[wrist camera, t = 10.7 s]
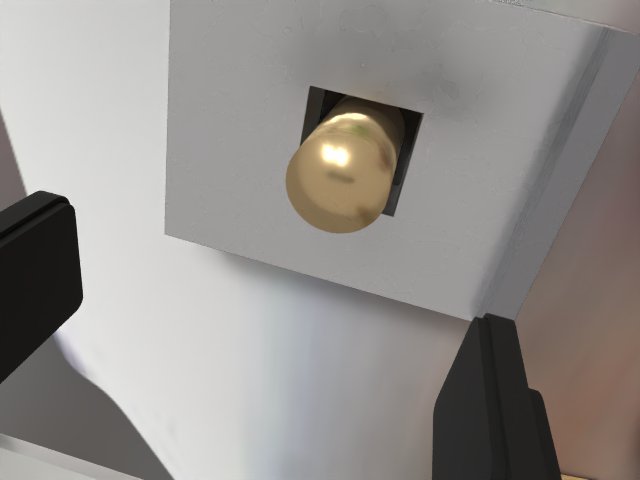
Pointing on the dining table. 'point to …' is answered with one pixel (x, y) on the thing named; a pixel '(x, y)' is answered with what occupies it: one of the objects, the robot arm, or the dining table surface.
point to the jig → (428, 145)
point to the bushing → (346, 166)
